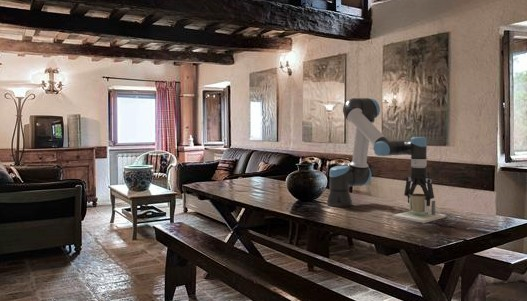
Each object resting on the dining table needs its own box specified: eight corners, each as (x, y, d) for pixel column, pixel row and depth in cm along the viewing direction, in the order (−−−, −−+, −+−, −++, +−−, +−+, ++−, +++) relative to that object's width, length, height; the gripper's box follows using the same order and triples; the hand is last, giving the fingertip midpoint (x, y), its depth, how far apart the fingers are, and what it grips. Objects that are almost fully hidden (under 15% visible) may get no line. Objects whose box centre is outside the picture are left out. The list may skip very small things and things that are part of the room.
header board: (392, 217, 224) (392, 201, 224) (414, 212, 236) (414, 197, 236) (424, 222, 210) (424, 206, 209) (446, 217, 222) (446, 201, 222)
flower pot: (416, 213, 217) (416, 196, 216) (405, 210, 226) (405, 194, 225) (432, 212, 219) (432, 195, 219) (421, 209, 228) (421, 193, 228)
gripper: (396, 166, 227) (397, 209, 229) (433, 168, 211) (433, 214, 212) (405, 165, 232) (405, 207, 233) (441, 167, 216) (441, 212, 217)
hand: (418, 210), depth 223 cm, fingers closed on flower pot, 8 cm apart
